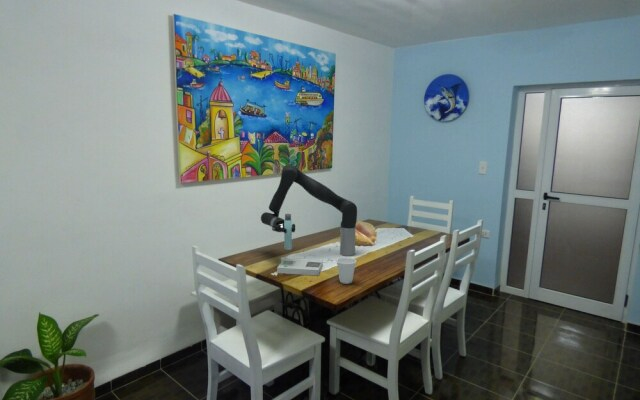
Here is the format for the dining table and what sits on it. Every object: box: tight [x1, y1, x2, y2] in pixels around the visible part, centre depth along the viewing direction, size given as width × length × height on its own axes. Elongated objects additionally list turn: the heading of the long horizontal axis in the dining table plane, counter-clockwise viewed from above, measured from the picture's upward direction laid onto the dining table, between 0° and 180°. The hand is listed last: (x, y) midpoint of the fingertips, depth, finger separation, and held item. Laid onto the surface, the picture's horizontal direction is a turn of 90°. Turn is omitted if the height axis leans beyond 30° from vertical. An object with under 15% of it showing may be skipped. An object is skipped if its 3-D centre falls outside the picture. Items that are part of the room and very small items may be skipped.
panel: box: [276, 258, 324, 277], centre depth 205 cm, size 16×22×4 cm
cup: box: [336, 257, 357, 285], centre depth 186 cm, size 10×10×11 cm
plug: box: [283, 213, 293, 251], centre depth 203 cm, size 4×4×19 cm
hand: (289, 230), depth 200 cm, fingers closed on plug, 4 cm apart
